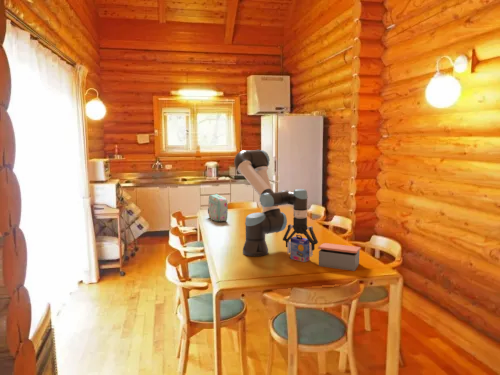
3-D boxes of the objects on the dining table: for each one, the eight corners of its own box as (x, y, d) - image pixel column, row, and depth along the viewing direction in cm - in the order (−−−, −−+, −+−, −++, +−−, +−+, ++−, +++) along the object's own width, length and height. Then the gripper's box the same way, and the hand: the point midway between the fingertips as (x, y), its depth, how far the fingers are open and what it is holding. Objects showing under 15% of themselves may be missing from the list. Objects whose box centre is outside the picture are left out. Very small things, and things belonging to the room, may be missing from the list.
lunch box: (206, 217, 329) (206, 193, 326) (217, 216, 334) (217, 192, 331) (217, 223, 305) (216, 197, 302) (229, 222, 309) (228, 196, 307)
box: (318, 265, 203) (318, 251, 202) (324, 259, 214) (324, 245, 213) (354, 271, 195) (355, 255, 194) (359, 264, 206) (359, 249, 204)
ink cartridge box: (289, 259, 215) (289, 234, 213) (295, 256, 219) (295, 232, 217) (304, 262, 209) (305, 236, 207) (310, 260, 213) (310, 234, 211)
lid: (318, 248, 202) (318, 246, 202) (324, 244, 213) (324, 242, 213) (356, 253, 193) (356, 251, 193) (360, 249, 205) (360, 247, 205)
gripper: (277, 216, 213) (277, 253, 215) (320, 220, 202) (319, 259, 205) (281, 214, 219) (281, 250, 222) (323, 217, 209) (323, 255, 211)
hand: (299, 254), depth 213 cm, fingers open, 12 cm apart
